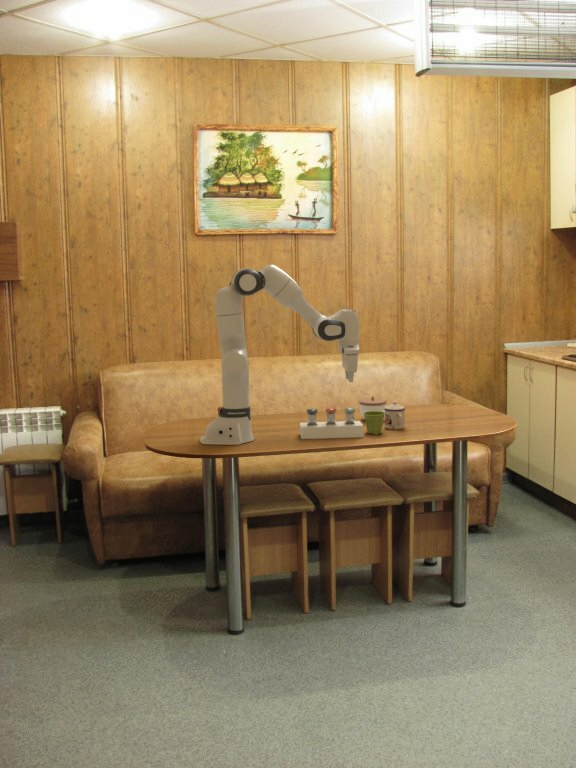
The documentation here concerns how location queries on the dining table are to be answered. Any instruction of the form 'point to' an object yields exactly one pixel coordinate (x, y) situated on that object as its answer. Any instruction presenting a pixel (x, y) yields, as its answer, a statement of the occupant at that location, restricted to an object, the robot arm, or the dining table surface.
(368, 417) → the plant pot
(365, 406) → the lidded bowl
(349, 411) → the plug
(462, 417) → the dining table surface
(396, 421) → the printed white mug
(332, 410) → the brick-red plug
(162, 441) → the dining table surface
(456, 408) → the dining table surface
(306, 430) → the block
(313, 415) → the plug
